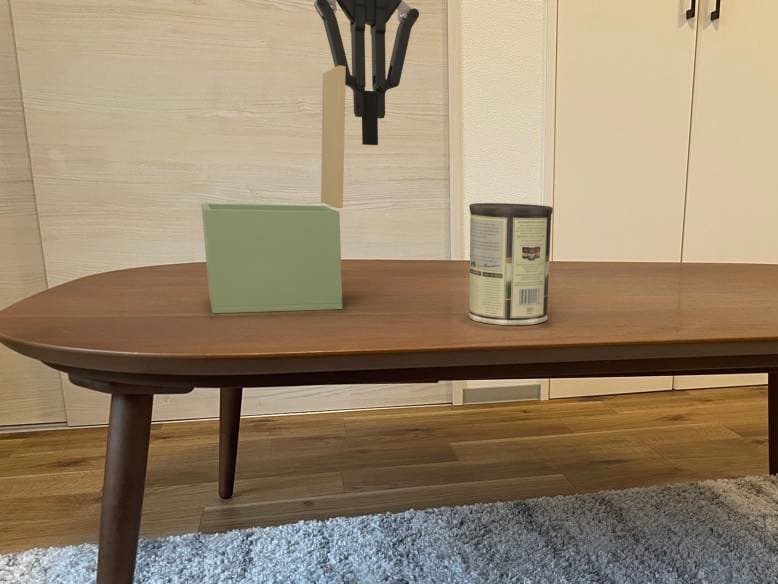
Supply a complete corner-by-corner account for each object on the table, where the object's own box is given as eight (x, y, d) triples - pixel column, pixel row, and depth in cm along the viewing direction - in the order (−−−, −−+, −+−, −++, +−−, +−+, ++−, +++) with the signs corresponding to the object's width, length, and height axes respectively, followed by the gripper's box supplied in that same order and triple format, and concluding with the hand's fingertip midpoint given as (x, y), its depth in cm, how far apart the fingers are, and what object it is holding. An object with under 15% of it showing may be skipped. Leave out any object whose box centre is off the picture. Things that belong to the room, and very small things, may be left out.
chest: (212, 313, 94) (204, 209, 91) (209, 297, 104) (201, 203, 101) (342, 309, 101) (339, 211, 97) (327, 294, 111) (324, 205, 107)
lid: (338, 65, 92) (345, 66, 92) (322, 73, 102) (329, 74, 103) (335, 207, 97) (342, 208, 97) (320, 202, 107) (327, 202, 107)
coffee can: (496, 307, 107) (499, 201, 102) (561, 317, 102) (567, 207, 98) (451, 318, 98) (452, 203, 94) (520, 329, 93) (525, 209, 89)
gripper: (316, -76, 89) (324, 142, 96) (426, -58, 94) (426, 147, 101) (306, -60, 95) (314, 142, 102) (410, -44, 101) (411, 147, 108)
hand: (370, 144), depth 102 cm, fingers closed
